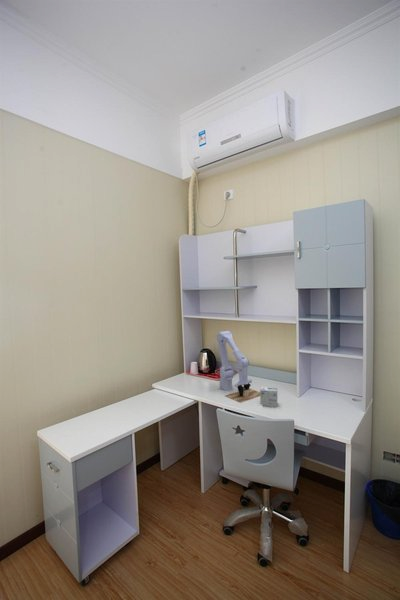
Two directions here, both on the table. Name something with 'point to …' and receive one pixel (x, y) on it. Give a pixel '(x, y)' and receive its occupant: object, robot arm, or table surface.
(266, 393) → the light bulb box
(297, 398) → the table surface
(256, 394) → the board
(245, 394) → the block
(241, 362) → the robot arm
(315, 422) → the table surface
